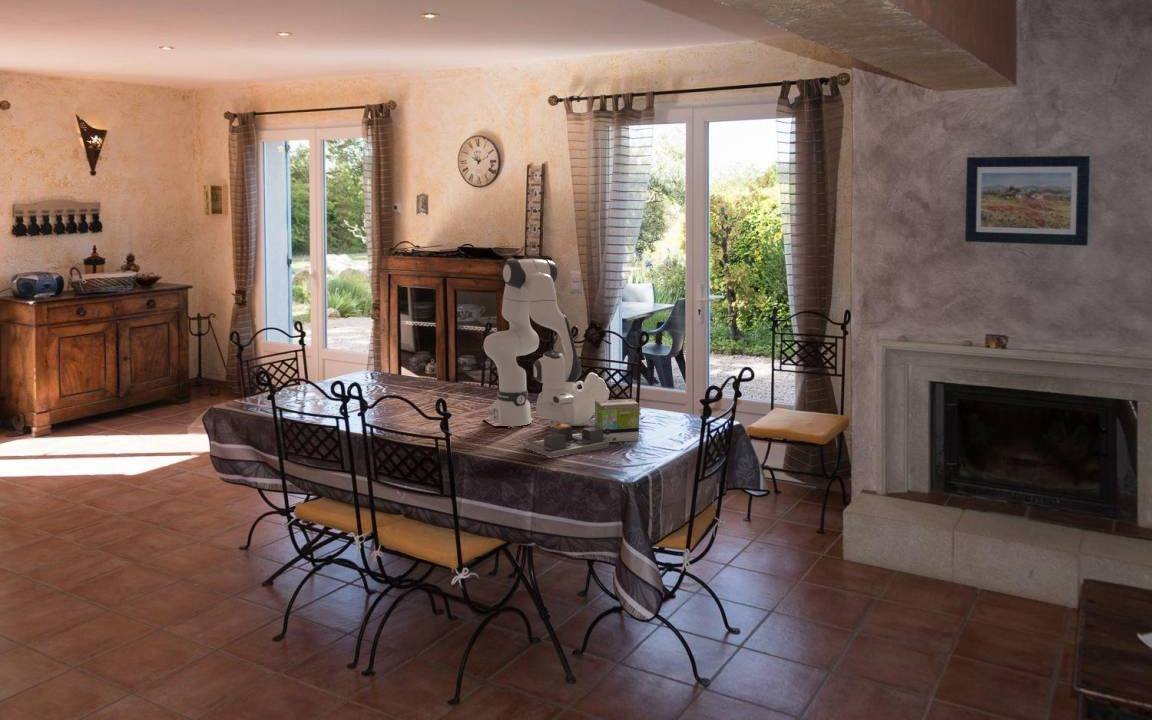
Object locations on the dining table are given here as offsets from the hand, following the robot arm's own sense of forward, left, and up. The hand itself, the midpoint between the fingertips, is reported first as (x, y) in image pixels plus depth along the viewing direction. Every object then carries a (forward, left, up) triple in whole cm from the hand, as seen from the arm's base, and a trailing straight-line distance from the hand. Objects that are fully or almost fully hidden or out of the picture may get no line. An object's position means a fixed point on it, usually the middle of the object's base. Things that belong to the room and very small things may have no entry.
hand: (555, 431), depth 375 cm
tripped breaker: (+4, 0, -3) cm, 5 cm away
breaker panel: (+7, 0, -5) cm, 9 cm away
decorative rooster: (-20, +26, -5) cm, 33 cm away
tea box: (+8, +23, -5) cm, 25 cm away
